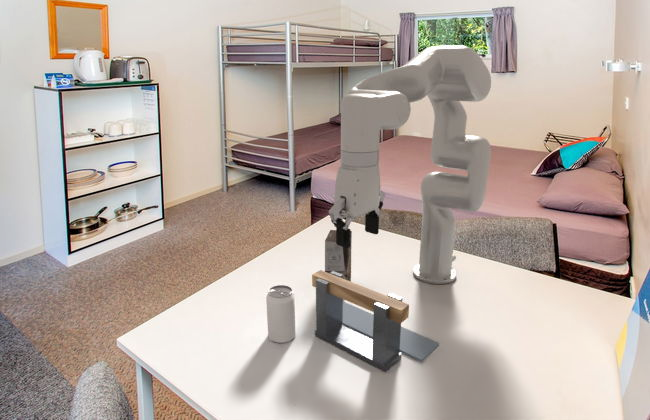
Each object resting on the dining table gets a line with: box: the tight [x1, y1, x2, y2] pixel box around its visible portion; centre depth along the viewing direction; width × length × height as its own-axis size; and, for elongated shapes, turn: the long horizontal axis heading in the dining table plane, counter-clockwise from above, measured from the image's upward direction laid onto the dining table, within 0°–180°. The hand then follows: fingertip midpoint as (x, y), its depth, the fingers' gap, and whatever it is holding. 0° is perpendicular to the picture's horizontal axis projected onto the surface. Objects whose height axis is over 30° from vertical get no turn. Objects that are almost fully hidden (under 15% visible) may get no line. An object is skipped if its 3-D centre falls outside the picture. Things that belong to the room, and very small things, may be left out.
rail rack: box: [314, 271, 403, 374], centre depth 100 cm, size 6×20×15 cm, turn 48°
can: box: [265, 284, 297, 344], centre depth 105 cm, size 6×6×12 cm
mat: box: [342, 301, 441, 363], centre depth 109 cm, size 8×28×1 cm, turn 48°
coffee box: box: [324, 229, 353, 282], centre depth 127 cm, size 9×6×16 cm
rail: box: [311, 269, 410, 325], centre depth 98 cm, size 3×24×3 cm, turn 48°
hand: (357, 239), depth 94 cm, fingers open, 9 cm apart
